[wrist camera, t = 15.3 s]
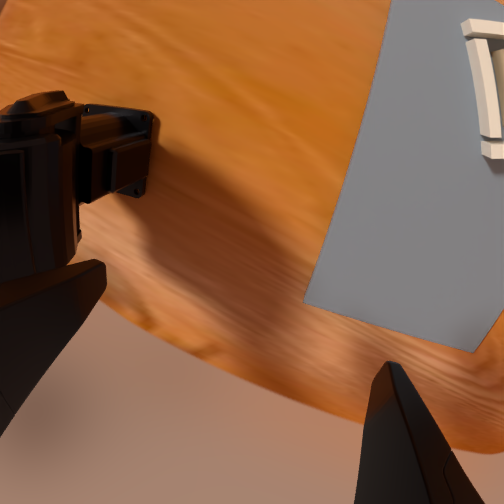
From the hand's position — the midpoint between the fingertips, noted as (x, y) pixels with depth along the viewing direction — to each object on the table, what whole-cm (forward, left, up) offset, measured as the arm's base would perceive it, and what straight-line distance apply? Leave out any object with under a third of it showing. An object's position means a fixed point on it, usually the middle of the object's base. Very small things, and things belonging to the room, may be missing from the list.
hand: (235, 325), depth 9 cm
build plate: (+10, +5, -13) cm, 17 cm away
